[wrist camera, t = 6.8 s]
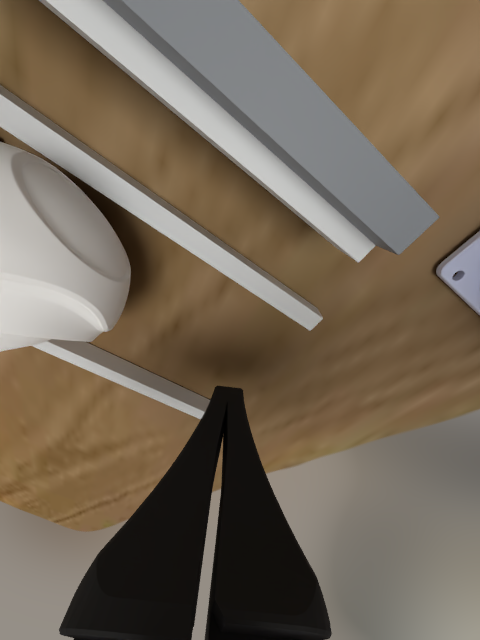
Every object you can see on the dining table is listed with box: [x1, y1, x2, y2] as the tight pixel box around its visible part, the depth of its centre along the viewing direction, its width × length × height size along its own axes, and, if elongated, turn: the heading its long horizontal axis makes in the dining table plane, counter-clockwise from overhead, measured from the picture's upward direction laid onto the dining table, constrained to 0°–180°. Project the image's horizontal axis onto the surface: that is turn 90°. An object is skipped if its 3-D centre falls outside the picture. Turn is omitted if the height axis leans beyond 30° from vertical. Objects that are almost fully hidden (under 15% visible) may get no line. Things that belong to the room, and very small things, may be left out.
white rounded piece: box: [0, 142, 131, 352], centre depth 8 cm, size 8×8×8 cm
